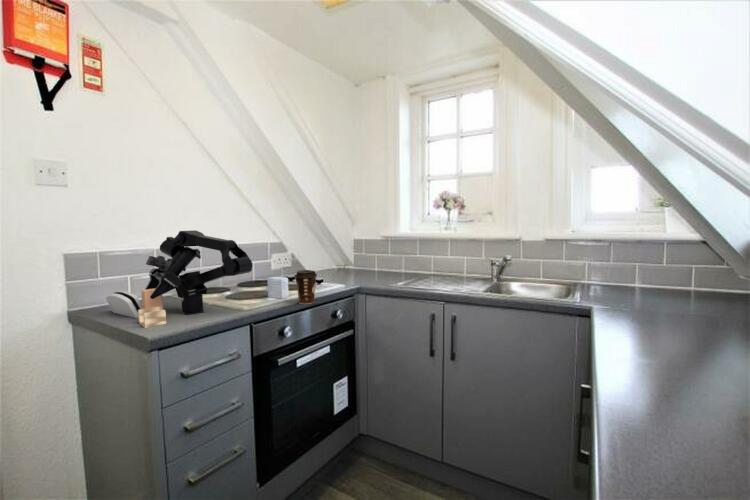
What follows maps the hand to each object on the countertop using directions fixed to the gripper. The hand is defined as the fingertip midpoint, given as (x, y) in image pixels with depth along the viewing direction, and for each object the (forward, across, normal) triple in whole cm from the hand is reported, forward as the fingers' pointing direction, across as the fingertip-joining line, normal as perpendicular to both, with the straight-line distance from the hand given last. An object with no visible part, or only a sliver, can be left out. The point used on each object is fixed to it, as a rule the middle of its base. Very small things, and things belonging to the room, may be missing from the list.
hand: (147, 296), depth 124 cm
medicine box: (-28, +4, +40) cm, 49 cm away
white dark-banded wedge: (+8, -13, +3) cm, 16 cm away
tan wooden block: (+6, +8, +5) cm, 11 cm away
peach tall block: (+5, 0, +6) cm, 8 cm away
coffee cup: (-30, +22, +42) cm, 56 cm away
